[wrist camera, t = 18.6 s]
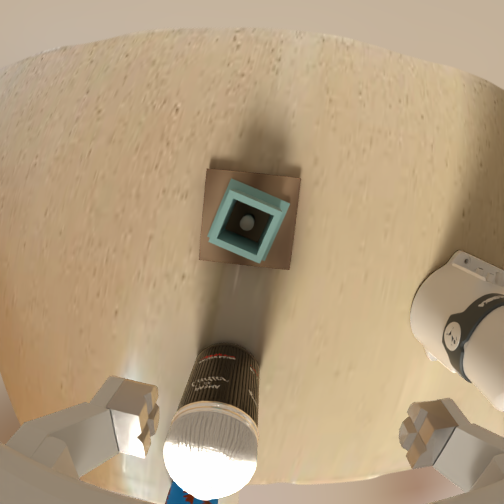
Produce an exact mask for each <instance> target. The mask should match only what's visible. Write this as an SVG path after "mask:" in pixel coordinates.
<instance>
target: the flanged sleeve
mask: <svg viewBox="0 0 504 504" xmlns="http://www.w3.org/2000/svg"><path fill="white" fill-rule="evenodd" d="M237 200H238V201H241V202H243V203H245V204H248V205H250V206H252V207H255V208H257V209H259V210H262V211H264V212H266V213H269V214H270V216H269V218H268V221H267V223H266V225H265V228H264V230H263V232H262V234H261V237H260V239H259V241H258V243H257V242H255V241H252V240H250V239H248V238H245V237H243V236H241V235H238V234H236V233H234V232H231V231H229V230H227V229H225V228H226V225H227V223H228V220H229V218H230V216H231V213H232V211H233V208H234V206H235V204H236V201H237ZM289 205H290V203H288V202H285V201H283V200H281V199H279V198H276V197H274V196H272V195H269V194H267V193H265V192H263V191H260V190H258V189H255V188H253V187H251V186H248V185H246V184H244V183H241V182H239V181H236V180H234V179H232V178H231V180H230V182H229V185H228V187H227V189H226V192H225V194H224V196H223V199H222V201H221V204H220V206H219V208H218V211H217V213H216V216H215V218H214V221H213V223H212V226H211V228H210V231H209V233H208V235H207V237H209V238H210V239H209V241H208V242H210V243H212V244H215V245H217V246H219V247H222V248H224V249H226V250H229V251H231V252H233V253H236V254H238V255H240V256H243V257H245V258H247V259H250V260H252V261H254V262H257V263H259V264H260V262H261V260H263V261H265V259H266V257H267V255H268V253H269V250H270V248H271V246H272V244H273V241H274V239H275V237H276V235H277V232H278V230H279V228H280V226H281V223H282V221H283V219H284V217H285V214H286V212H287V210H288V208H289Z"/></svg>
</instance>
